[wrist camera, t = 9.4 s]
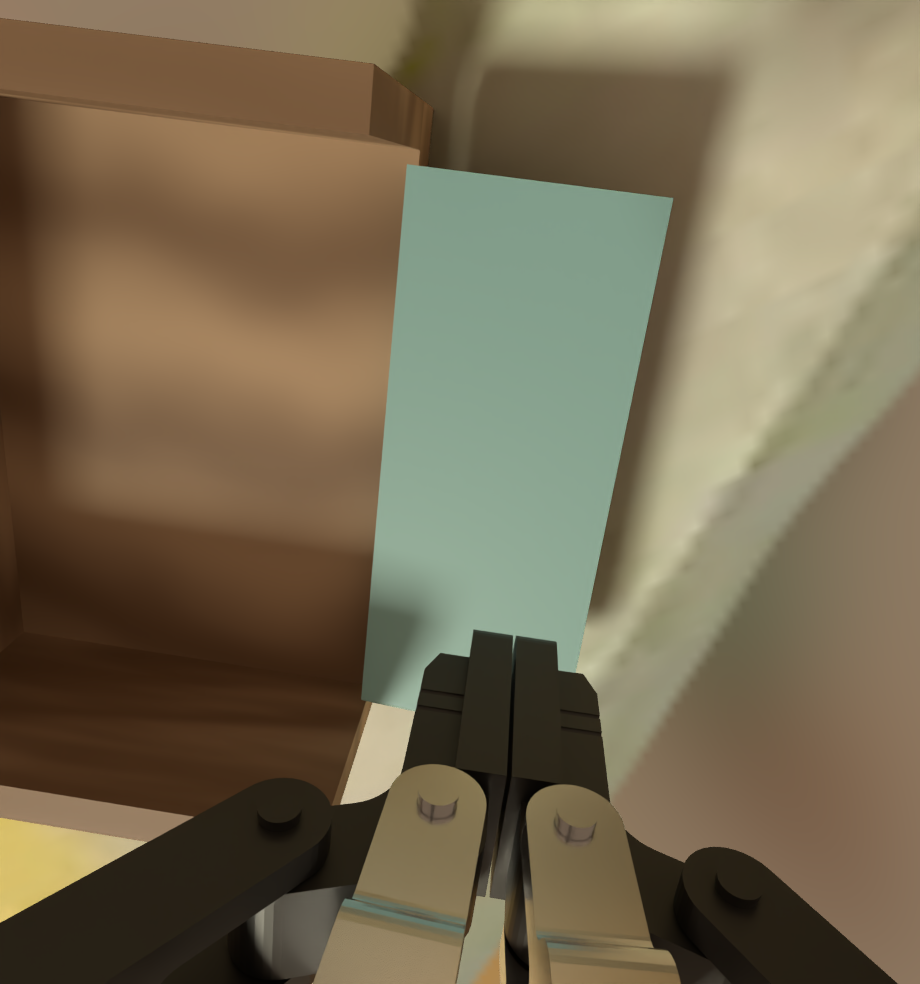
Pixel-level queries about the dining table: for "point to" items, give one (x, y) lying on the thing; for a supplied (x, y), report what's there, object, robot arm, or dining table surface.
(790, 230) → the dining table surface
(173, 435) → the box
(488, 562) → the panel
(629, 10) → the dining table surface
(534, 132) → the dining table surface
